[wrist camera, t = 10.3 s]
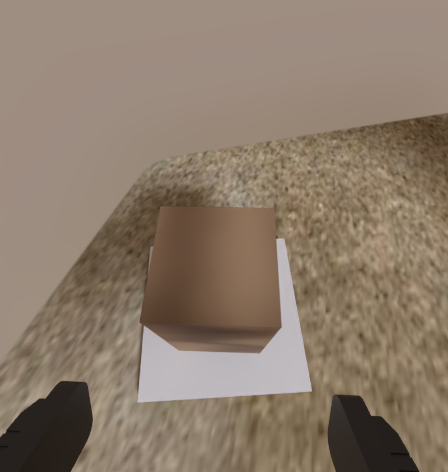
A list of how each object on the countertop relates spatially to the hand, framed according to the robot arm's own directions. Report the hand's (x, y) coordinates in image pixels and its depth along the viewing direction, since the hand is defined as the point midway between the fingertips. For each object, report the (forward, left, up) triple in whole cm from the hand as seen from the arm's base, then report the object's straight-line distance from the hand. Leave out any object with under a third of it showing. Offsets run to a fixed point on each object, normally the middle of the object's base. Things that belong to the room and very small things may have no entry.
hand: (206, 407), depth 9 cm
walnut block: (0, -6, -11) cm, 13 cm away
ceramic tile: (0, -6, -12) cm, 14 cm away
